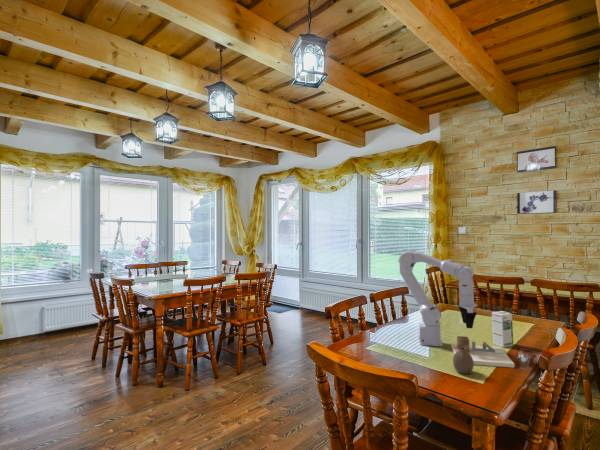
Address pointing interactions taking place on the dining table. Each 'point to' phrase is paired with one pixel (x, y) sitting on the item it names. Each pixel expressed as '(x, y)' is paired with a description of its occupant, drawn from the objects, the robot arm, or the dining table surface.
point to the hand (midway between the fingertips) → (467, 325)
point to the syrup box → (502, 328)
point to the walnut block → (463, 342)
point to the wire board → (488, 357)
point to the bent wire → (483, 348)
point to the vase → (463, 361)
